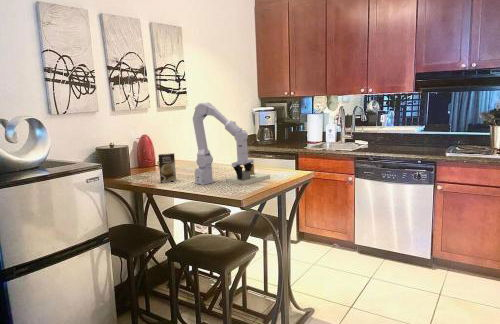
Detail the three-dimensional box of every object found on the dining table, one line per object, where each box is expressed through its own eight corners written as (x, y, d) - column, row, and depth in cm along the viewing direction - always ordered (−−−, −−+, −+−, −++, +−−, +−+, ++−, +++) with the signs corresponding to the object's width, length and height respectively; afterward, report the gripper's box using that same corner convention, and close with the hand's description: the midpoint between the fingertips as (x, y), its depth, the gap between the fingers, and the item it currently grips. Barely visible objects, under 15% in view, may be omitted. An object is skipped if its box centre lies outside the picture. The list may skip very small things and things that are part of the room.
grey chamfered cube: (243, 180, 200) (243, 172, 200) (237, 179, 204) (236, 171, 204) (250, 178, 204) (250, 171, 203) (244, 177, 208) (243, 170, 207)
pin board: (244, 185, 198) (243, 175, 198) (225, 181, 209) (225, 173, 208) (270, 178, 212) (269, 169, 211) (251, 175, 223) (250, 167, 222)
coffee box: (160, 183, 216) (157, 155, 213) (160, 181, 222) (158, 154, 220) (176, 181, 218) (174, 154, 215) (176, 179, 224) (174, 152, 221)
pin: (251, 174, 215) (251, 164, 213) (248, 174, 217) (247, 164, 216) (255, 174, 217) (255, 163, 215) (251, 173, 219) (251, 163, 218)
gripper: (237, 155, 194) (239, 181, 196) (257, 151, 204) (258, 176, 206) (228, 154, 199) (230, 179, 201) (248, 151, 209) (249, 175, 211)
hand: (243, 177), depth 204 cm, fingers closed on grey chamfered cube, 5 cm apart
